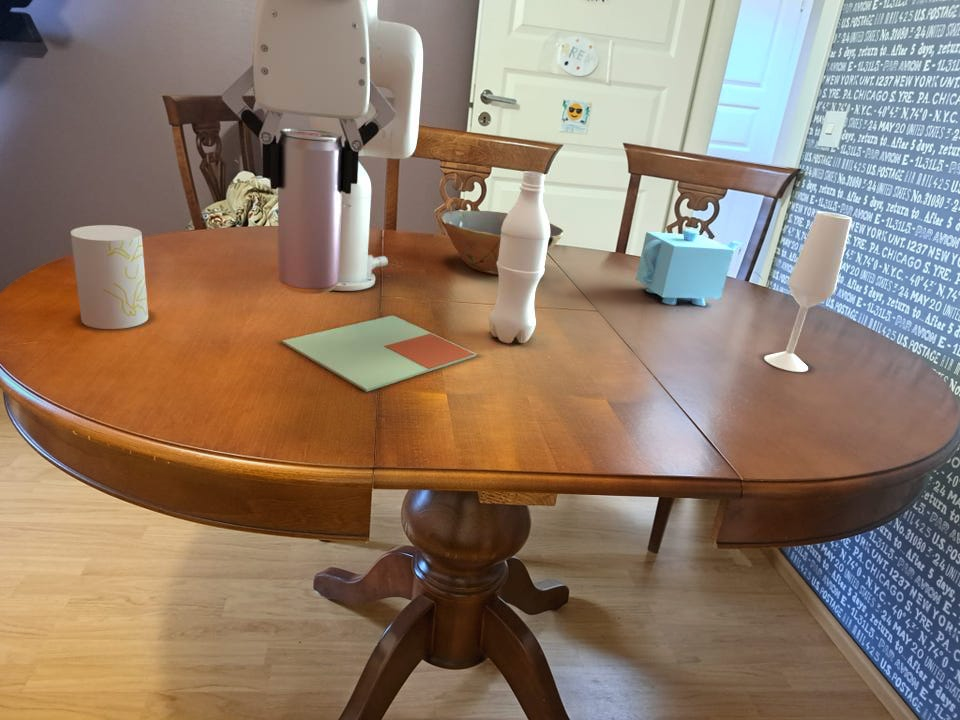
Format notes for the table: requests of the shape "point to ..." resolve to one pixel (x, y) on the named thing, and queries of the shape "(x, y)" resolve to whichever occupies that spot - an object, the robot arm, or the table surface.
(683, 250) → the teapot
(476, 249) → the bowl
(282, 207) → the beverage can
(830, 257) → the champagne flute
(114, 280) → the cup
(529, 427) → the table surface
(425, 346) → the placemat
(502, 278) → the water bottle
